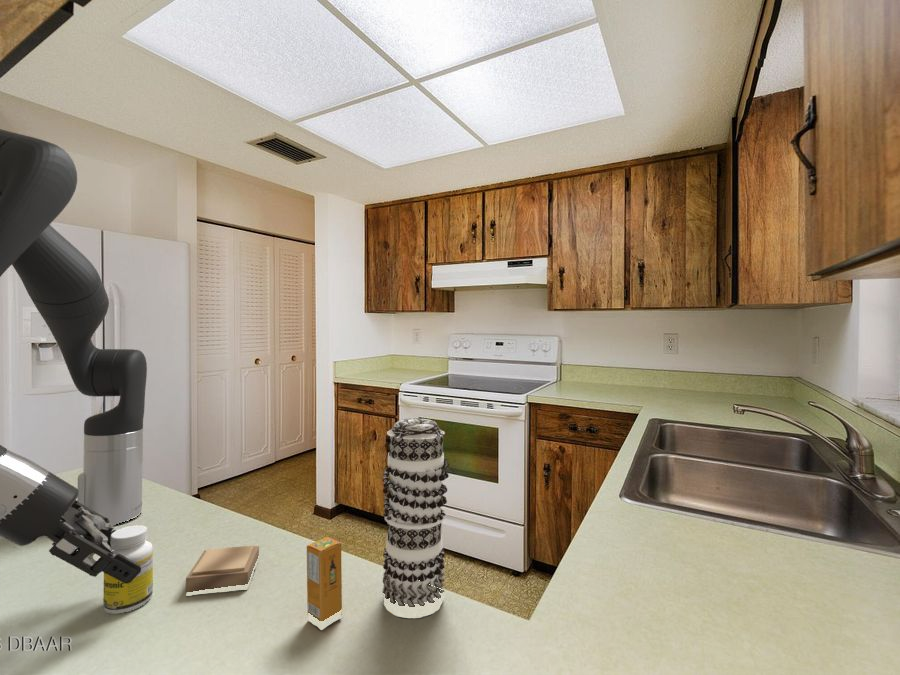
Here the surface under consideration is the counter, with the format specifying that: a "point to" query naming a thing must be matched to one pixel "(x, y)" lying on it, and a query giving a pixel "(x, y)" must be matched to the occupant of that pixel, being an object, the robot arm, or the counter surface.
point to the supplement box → (324, 578)
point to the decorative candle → (414, 512)
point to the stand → (222, 568)
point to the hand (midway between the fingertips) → (132, 562)
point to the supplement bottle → (141, 587)
